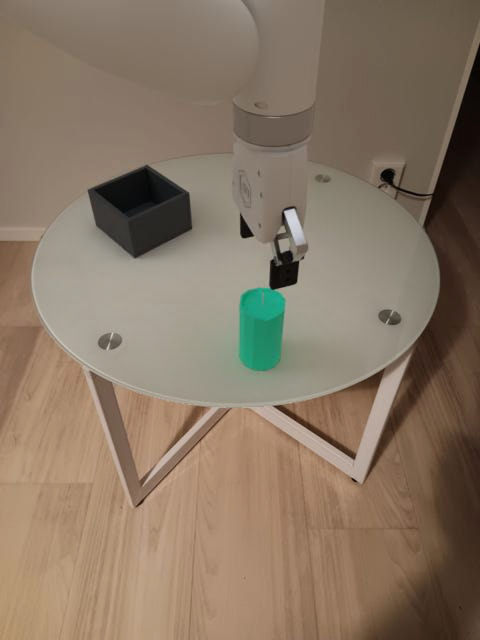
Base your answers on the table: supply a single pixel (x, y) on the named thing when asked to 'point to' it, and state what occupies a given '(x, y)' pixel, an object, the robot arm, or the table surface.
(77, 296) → the table surface
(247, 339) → the candle
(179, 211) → the bin
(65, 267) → the table surface
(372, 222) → the table surface
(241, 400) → the table surface
